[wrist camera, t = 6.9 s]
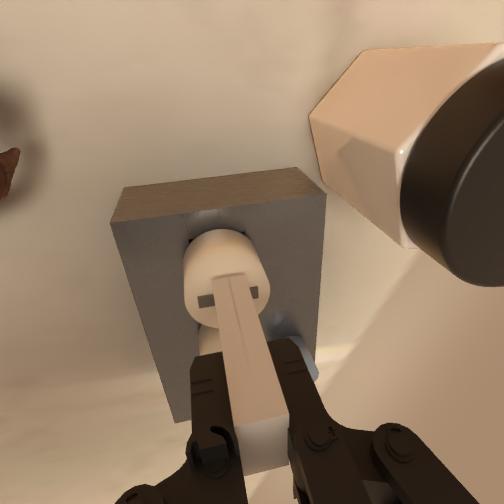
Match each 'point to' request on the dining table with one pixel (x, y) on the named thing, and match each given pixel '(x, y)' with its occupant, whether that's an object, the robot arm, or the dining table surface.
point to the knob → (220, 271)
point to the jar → (423, 151)
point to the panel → (211, 218)
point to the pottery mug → (7, 169)
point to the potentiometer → (306, 356)
